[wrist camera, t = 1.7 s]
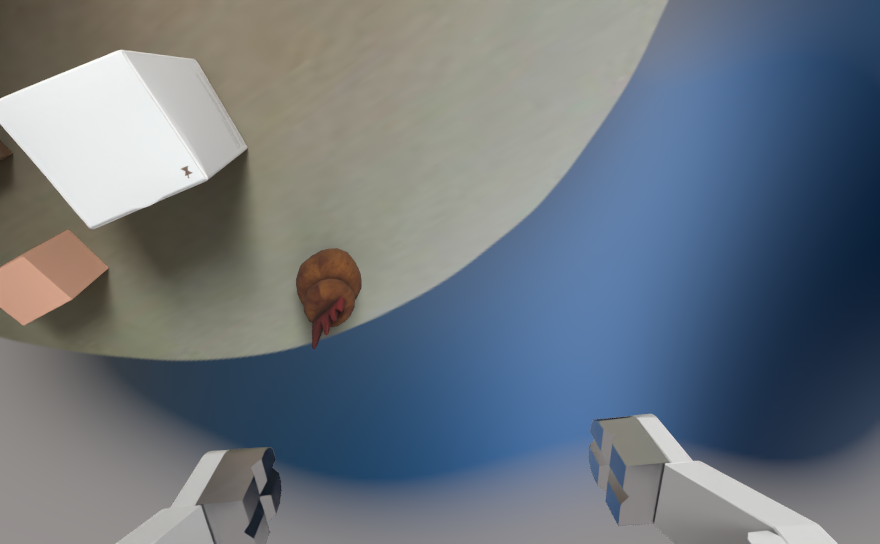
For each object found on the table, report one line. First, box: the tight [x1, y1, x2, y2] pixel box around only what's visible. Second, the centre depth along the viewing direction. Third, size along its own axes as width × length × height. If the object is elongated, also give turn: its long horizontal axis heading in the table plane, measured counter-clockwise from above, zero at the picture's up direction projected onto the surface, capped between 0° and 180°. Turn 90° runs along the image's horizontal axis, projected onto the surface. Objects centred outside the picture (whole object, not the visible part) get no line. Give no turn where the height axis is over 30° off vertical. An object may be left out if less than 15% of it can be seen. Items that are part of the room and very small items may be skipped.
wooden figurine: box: [296, 249, 361, 349], centre depth 43 cm, size 7×6×15 cm
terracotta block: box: [0, 229, 108, 326], centre depth 39 cm, size 5×5×7 cm
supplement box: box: [0, 50, 248, 229], centre depth 33 cm, size 9×9×15 cm
